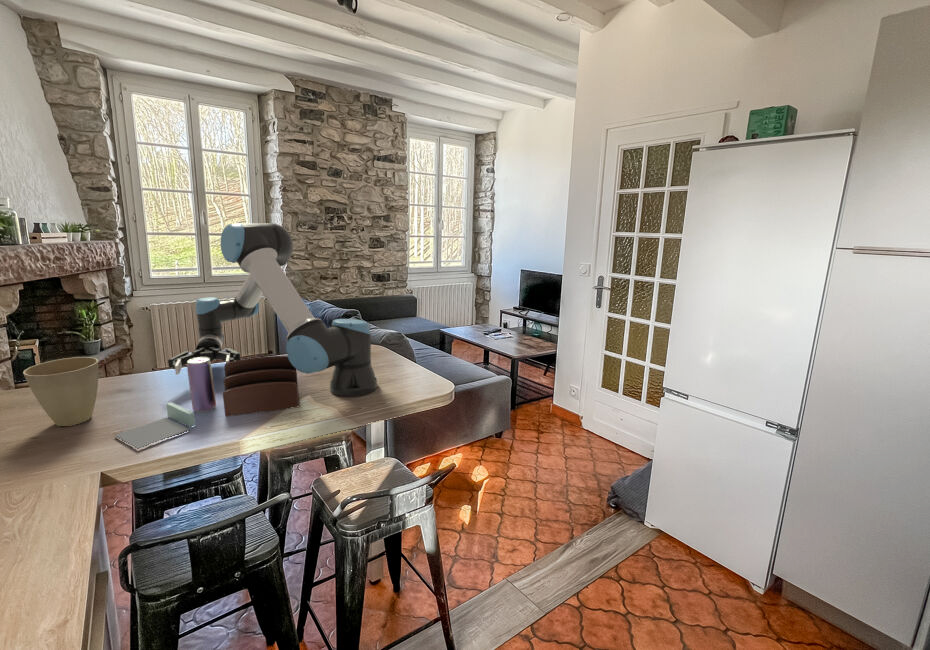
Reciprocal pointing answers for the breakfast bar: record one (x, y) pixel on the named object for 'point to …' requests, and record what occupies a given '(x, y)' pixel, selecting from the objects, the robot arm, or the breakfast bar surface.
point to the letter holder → (259, 385)
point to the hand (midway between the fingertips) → (202, 367)
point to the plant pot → (65, 388)
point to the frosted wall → (180, 414)
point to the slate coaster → (151, 433)
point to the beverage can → (201, 384)
